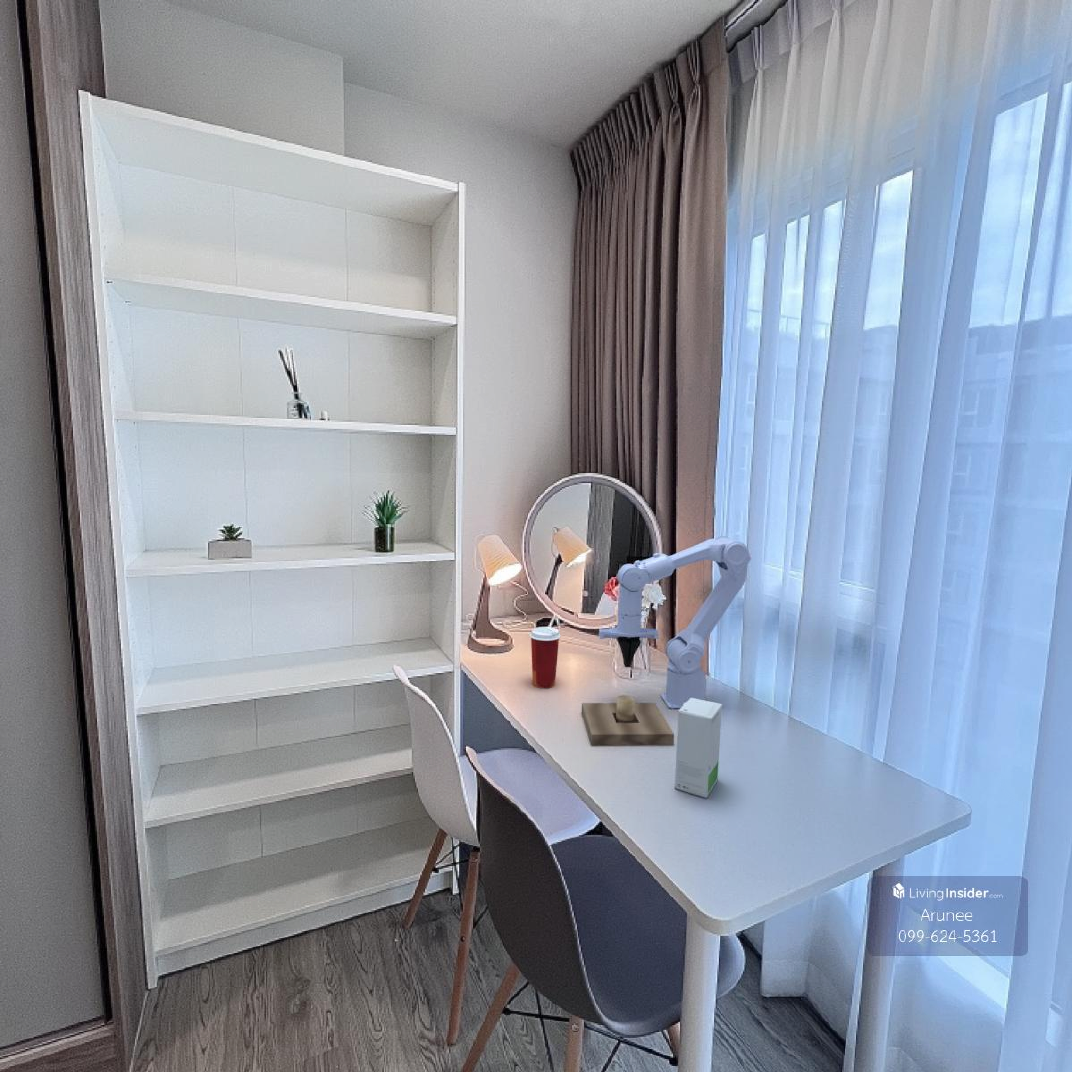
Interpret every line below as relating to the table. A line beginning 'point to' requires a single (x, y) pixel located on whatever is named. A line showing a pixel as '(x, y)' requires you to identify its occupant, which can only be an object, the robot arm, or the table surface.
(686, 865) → the table surface
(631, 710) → the peg
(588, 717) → the board
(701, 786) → the skincare box
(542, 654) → the coffee cup
